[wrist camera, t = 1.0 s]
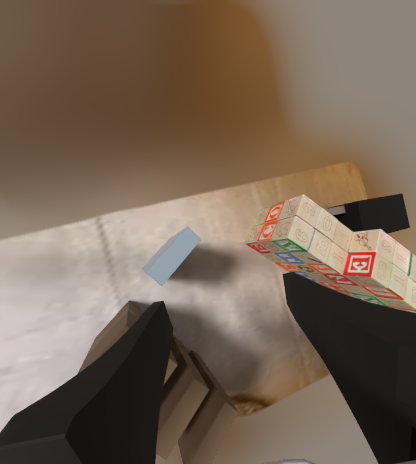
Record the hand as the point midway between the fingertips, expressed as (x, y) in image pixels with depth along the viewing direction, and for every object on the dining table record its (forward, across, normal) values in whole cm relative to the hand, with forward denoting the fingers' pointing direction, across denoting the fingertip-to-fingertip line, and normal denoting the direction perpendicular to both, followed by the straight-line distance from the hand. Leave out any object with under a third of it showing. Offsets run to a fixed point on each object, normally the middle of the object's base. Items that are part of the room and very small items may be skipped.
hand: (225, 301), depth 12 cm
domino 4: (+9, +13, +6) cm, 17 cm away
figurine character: (+26, -24, +7) cm, 36 cm away
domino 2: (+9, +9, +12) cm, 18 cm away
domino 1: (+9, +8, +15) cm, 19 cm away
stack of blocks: (+21, -13, +10) cm, 27 cm away
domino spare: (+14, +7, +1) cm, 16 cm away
